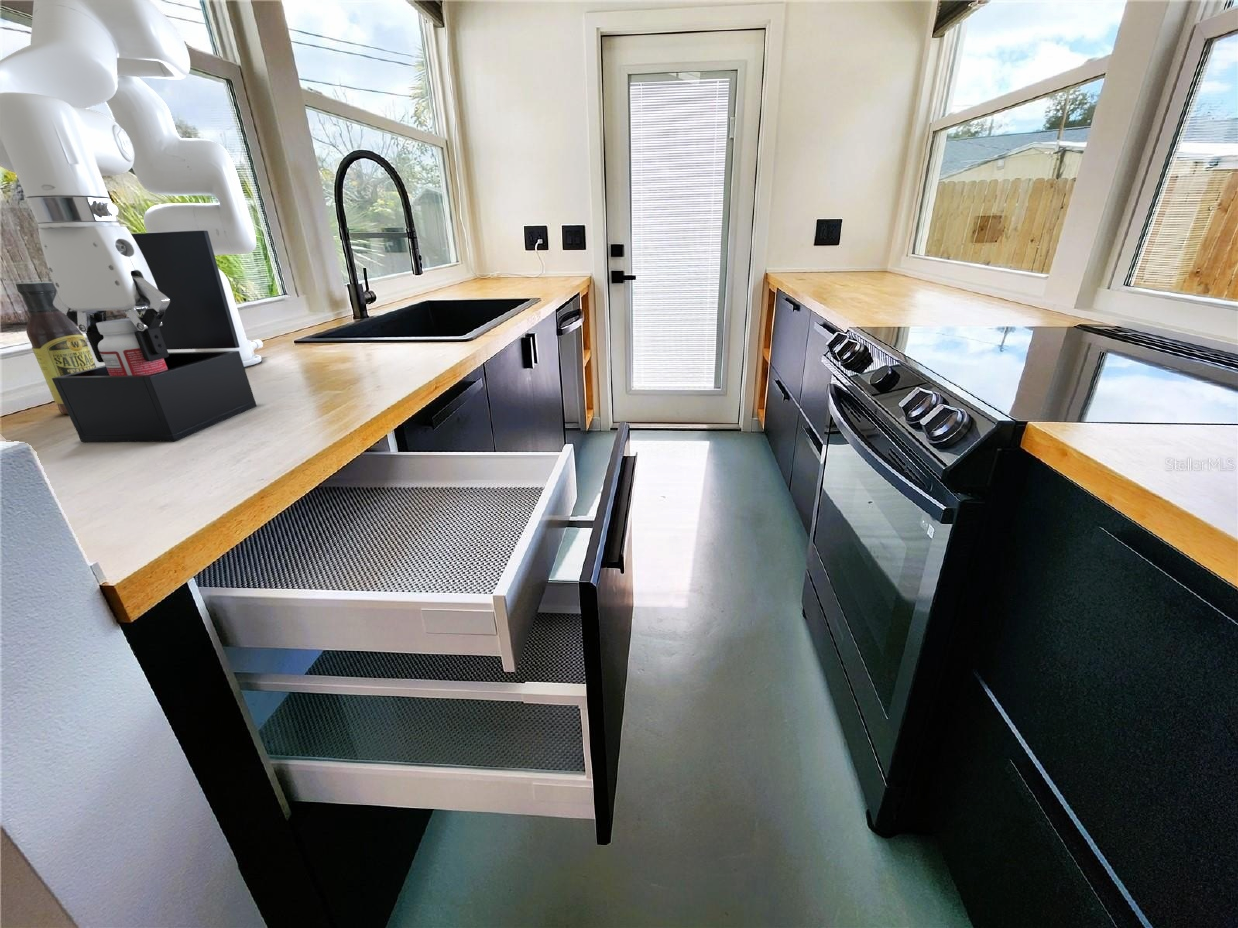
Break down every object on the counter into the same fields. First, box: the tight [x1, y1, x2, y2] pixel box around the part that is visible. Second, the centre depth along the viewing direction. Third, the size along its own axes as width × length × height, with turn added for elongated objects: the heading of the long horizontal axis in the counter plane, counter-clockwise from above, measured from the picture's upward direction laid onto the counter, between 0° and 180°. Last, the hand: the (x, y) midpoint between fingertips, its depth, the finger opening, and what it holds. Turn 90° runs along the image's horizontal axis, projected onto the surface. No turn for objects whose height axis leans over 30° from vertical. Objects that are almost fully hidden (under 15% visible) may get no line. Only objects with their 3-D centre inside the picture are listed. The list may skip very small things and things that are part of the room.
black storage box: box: [52, 351, 257, 443], centre depth 78 cm, size 16×14×9 cm
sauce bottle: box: [15, 281, 97, 415], centre depth 84 cm, size 6×6×20 cm
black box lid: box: [131, 230, 240, 351], centre depth 82 cm, size 17×14×5 cm
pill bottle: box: [96, 318, 168, 376], centre depth 73 cm, size 6×6×11 cm
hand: (134, 358), depth 73 cm, fingers closed on pill bottle, 6 cm apart
